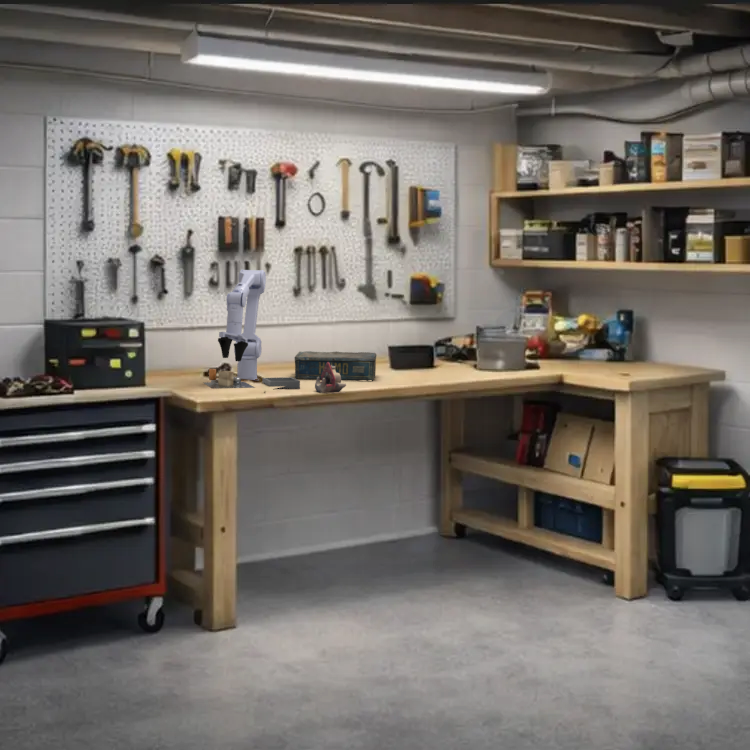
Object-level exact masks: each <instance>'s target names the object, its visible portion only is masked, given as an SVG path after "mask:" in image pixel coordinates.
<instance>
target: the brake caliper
mask: <svg viewBox="0 0 750 750" xmlns="http://www.w3.org/2000/svg"><path fill="white" fill-rule="evenodd" d="M326 369H327V370H326ZM329 369H330V370H329ZM326 373H327V374H326ZM325 375H326V379H325ZM346 386H347V384H346V383H344V382H342V381H341V375H340V374H339V373H336V370H335V366H332V365H331V366H330V363H329V362H327V363H326V366H325V368H324V370H323V372H322V375H321V380H320V377H317V380H315V384H314V389H315V391H316V392H318V393H321V394H329V395H331V394H345V393H347V392H346V391H342V390H343V389H344V388H345V387H346Z"/></svg>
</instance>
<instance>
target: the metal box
mask: <svg viewBox="0 0 750 750" xmlns="http://www.w3.org/2000/svg"><path fill="white" fill-rule="evenodd" d="M327 362H329V363H330V366H331V365H332V366H335V370H336V373H339V374H340V375H341V380H374V381H375V378H376V371H377V367H376V366H377V365H376V364H377V353H376V352H364V351H362V352H360V351H359V352H352V351H351V352H350V351H348V352H347V351H346V352H343V351H330V352H326V351H322V352H321V351H313V350H312V351H310V350H309V351H299V352H297V354H296V355H295V356H294V375H295V376H294V378H295V379H297V380H299V381H316V380H317V377H320V381H321V375H322V372H323V370H324V368H325V366H326V363H327ZM326 370H327V369H326ZM329 370H330V369H329ZM326 374H327V373H326ZM325 379H326V375H325Z"/></svg>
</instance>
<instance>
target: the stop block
mask: <svg viewBox="0 0 750 750" xmlns="http://www.w3.org/2000/svg"><path fill="white" fill-rule="evenodd" d="M233 377H234V371H232V370H231V371H229V370H222V371H218V379H219V383H218V385H222V386H230V385H233Z"/></svg>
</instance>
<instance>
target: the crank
mask: <svg viewBox="0 0 750 750" xmlns="http://www.w3.org/2000/svg"><path fill="white" fill-rule="evenodd" d="M208 372H209V373H208V376H209V377H208V379H209V381H210V382H211V383H219V378H217V368H209V371H208ZM241 382H242V379H241V377H237V376H233V383H241Z"/></svg>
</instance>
